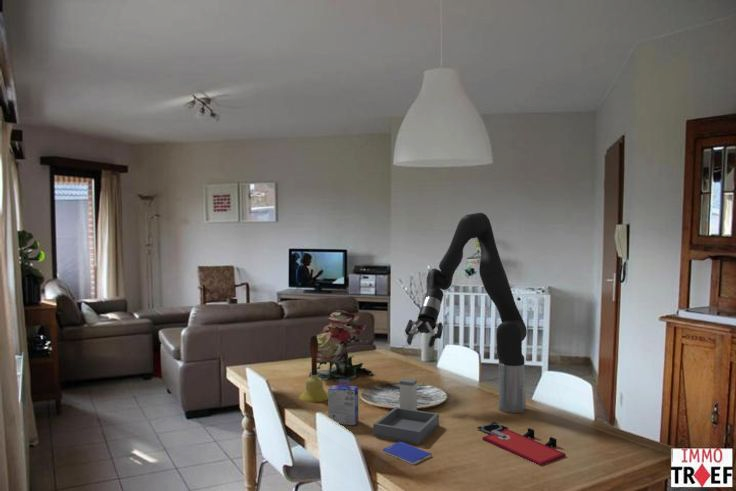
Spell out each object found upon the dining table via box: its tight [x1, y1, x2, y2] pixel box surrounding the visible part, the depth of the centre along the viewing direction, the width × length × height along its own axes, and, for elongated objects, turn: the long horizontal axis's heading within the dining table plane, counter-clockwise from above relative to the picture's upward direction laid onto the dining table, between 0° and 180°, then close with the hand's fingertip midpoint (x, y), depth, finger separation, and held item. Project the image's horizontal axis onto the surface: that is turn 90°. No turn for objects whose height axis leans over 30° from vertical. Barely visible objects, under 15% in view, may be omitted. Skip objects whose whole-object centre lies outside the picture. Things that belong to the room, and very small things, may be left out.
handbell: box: [298, 334, 328, 403], centre depth 214 cm, size 12×12×25 cm
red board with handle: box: [476, 421, 566, 466], centre depth 168 cm, size 30×3×15 cm
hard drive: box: [382, 441, 432, 466], centre depth 160 cm, size 2×8×12 cm
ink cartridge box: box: [327, 379, 359, 426], centre depth 186 cm, size 10×6×14 cm, turn 78°
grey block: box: [399, 377, 418, 411], centre depth 195 cm, size 5×4×12 cm
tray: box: [372, 406, 440, 446], centre depth 178 cm, size 16×18×4 cm
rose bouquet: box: [308, 309, 374, 383], centre depth 246 cm, size 26×29×30 cm
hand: (419, 344), depth 205 cm, fingers open, 8 cm apart
